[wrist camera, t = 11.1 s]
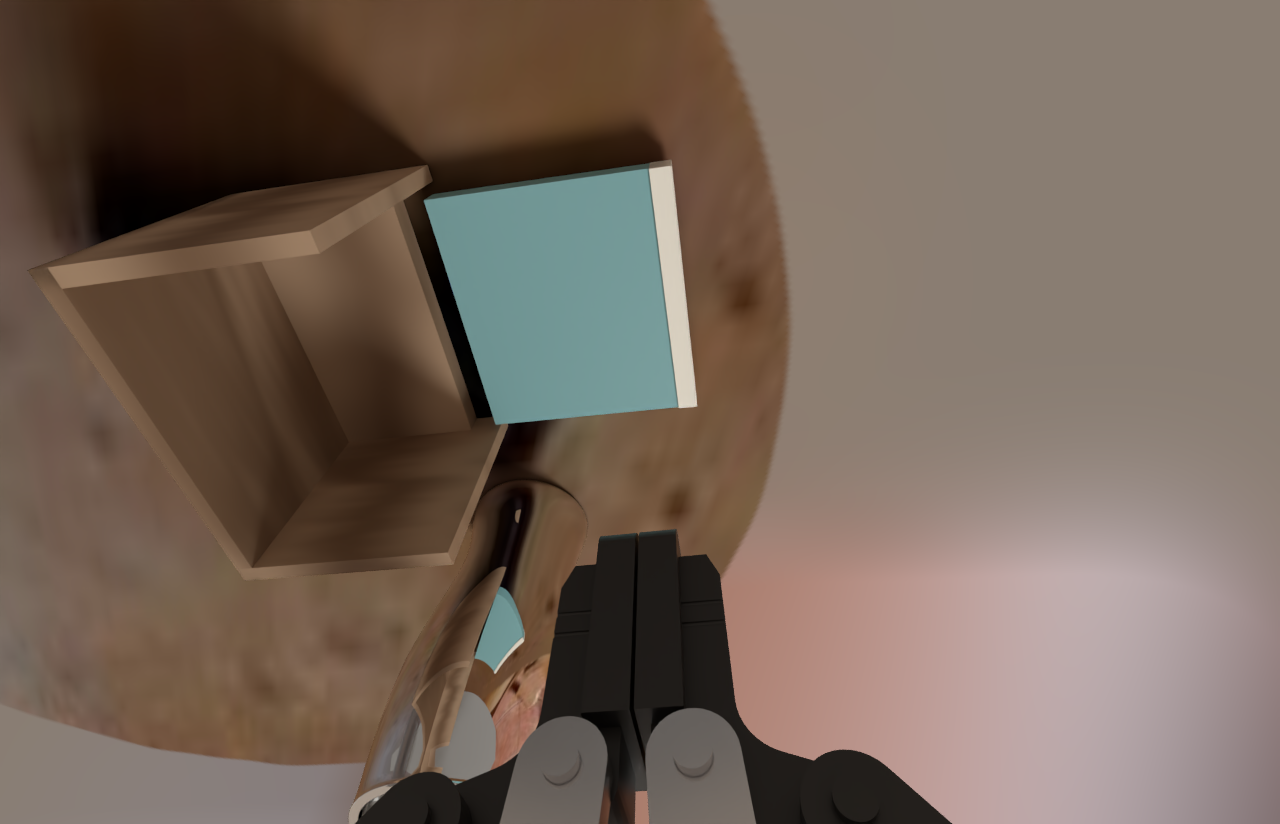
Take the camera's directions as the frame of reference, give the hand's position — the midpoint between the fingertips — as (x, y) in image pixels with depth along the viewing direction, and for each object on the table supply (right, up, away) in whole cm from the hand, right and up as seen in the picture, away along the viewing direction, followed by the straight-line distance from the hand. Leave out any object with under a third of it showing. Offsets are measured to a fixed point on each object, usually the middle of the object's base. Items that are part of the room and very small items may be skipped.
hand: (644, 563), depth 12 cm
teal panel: (-7, +7, +14) cm, 17 cm away
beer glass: (-6, -3, +21) cm, 22 cm away
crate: (-11, +7, +15) cm, 20 cm away
